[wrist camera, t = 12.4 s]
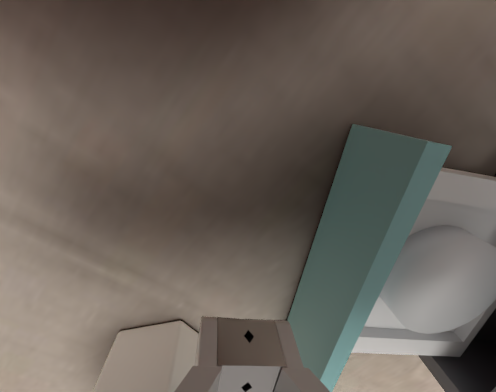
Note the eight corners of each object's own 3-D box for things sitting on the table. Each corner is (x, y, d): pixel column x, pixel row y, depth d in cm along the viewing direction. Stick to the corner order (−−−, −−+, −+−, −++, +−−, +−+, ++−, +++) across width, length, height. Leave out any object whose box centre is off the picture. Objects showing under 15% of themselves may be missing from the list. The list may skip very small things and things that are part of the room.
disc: (496, 230, 15) (531, 247, 13) (447, 312, 17) (471, 335, 16) (400, 219, 14) (424, 236, 12) (362, 308, 16) (378, 332, 15)
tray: (352, 123, 14) (428, 141, 9) (534, 160, 16) (681, 191, 11) (284, 328, 19) (306, 410, 14) (424, 336, 21) (486, 410, 16)
